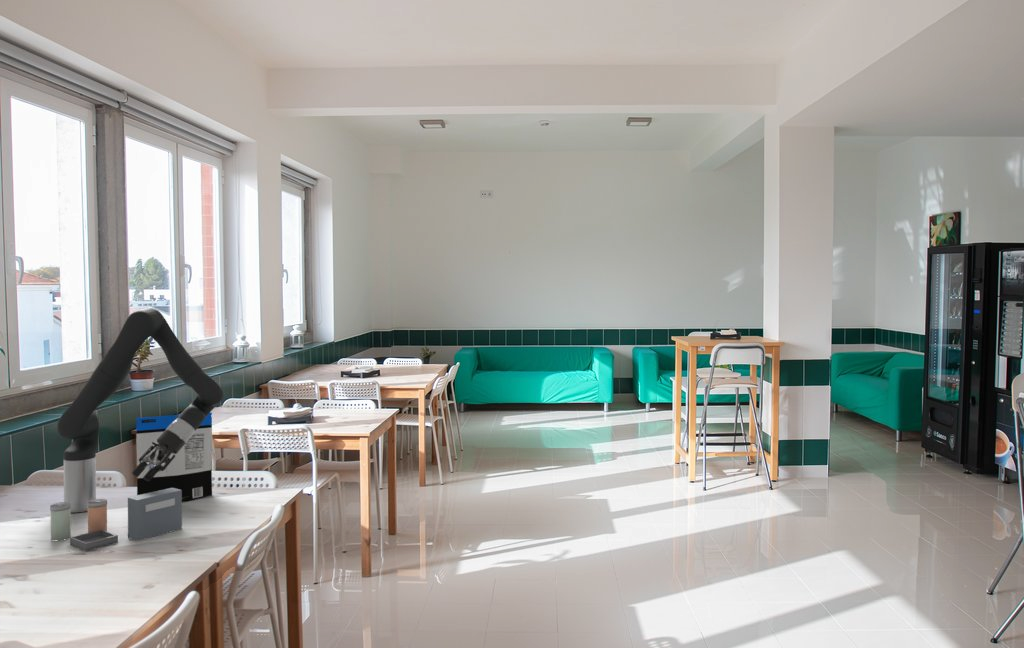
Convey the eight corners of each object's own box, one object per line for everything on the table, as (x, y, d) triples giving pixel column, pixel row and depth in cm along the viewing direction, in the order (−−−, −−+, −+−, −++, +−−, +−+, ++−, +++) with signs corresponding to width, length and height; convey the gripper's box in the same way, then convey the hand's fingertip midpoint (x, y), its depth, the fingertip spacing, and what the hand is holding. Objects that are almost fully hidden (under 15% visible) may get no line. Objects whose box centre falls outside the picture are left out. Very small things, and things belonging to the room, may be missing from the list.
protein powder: (214, 498, 260) (214, 414, 259) (138, 508, 247) (138, 419, 246) (209, 492, 268) (209, 410, 267) (135, 501, 255) (134, 416, 254)
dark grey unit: (127, 537, 217) (127, 497, 216) (171, 525, 228) (171, 487, 228) (138, 541, 214) (137, 500, 213) (182, 528, 225) (182, 490, 225)
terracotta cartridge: (84, 534, 219) (83, 501, 218) (101, 530, 223) (101, 497, 223) (93, 538, 216) (92, 504, 216) (110, 533, 220) (110, 500, 220)
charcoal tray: (69, 545, 210) (69, 537, 210) (101, 536, 217) (101, 529, 217) (85, 551, 205) (85, 543, 205) (118, 542, 212) (118, 535, 212)
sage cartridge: (47, 538, 215) (46, 505, 215) (65, 534, 219) (65, 501, 219) (55, 542, 212) (55, 508, 212) (74, 537, 216) (74, 504, 216)
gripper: (158, 426, 238) (121, 467, 230) (178, 431, 229) (140, 474, 221) (174, 439, 242) (139, 480, 234) (194, 445, 233) (158, 488, 225)
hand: (139, 477), depth 227 cm, fingers open, 8 cm apart
